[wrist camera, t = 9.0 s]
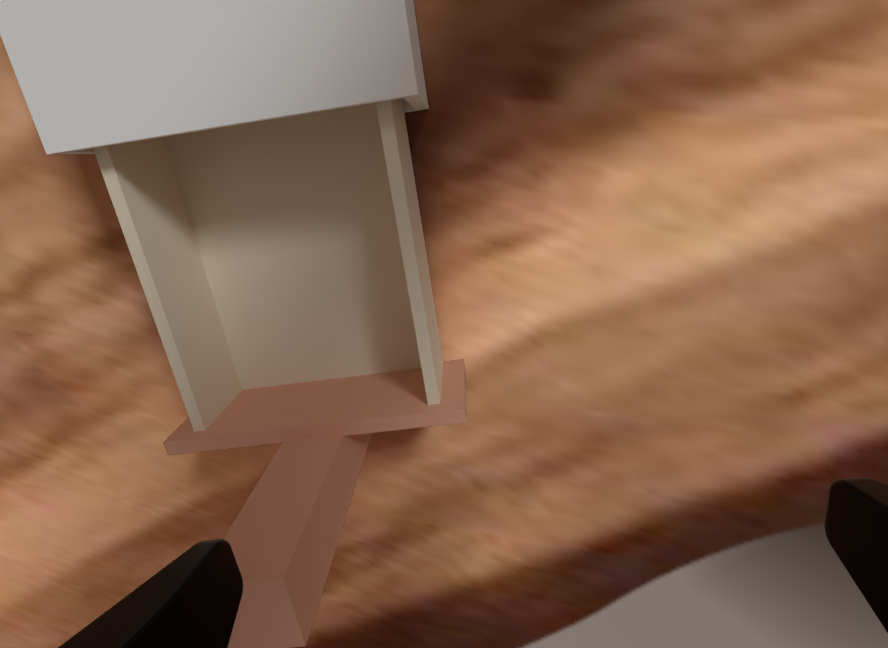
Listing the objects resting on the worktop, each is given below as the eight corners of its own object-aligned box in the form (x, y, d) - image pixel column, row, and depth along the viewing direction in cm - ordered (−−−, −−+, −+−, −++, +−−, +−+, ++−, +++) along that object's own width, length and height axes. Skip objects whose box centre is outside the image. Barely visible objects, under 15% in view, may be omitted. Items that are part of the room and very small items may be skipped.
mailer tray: (405, -49, 15) (320, -369, 6) (471, 412, 20) (481, 632, 11) (94, 9, 15) (-425, -194, 6) (234, 439, 21) (58, 665, 12)
